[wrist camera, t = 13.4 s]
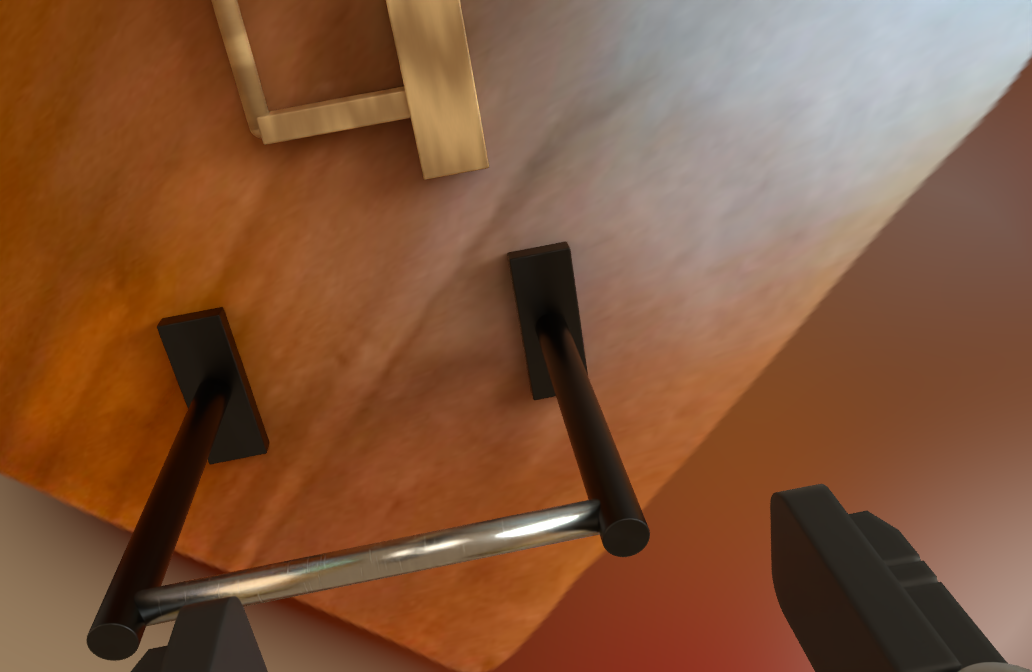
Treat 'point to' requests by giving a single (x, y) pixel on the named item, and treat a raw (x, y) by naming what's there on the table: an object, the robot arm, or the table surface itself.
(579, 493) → the table surface
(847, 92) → the table surface
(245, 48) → the hanger
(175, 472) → the rail stand
